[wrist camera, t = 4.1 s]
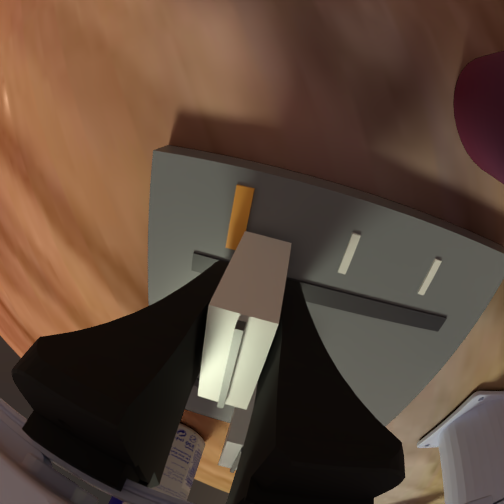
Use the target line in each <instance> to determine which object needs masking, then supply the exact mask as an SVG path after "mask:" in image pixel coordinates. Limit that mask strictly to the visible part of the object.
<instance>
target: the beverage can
mask: <svg viewBox="0 0 504 504" xmlns="http://www.w3.org/2000/svg"><path fill="white" fill-rule="evenodd" d="M204 447H205V442H204V440H203V439H202V437H201V436H200V435H199V434H198V433H196V432H195V431H194V430H192V429H191V428H189V427H187V426H185V425H183V424H181V423H179V426H178V429H177V432H176V435H175V438H174V441H173V444H172V447H171V450H170V453H169V456H168V459H167V462H166V465H165V468H164V472H163V475H162V478H161V481H160V485H158V486H156V487H153V488H150V489H153V490H156V491H158V492H161V493H164V494H167V495H169V496H172V497H175V498H178V499H181V500H185V501H186V500H187V497H188V494H189V491H190V489H191V486H192V483H193V480H194V477H195V474H196V471H197V468H198V465H199V462H200V459H201V456H202V453H203V450H204ZM109 504H128V503H126V502H124V501H121V500H119V499H117V498H115V497H113V496H112V497H111V499H110V501H109Z"/></svg>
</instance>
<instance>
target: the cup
mask: <svg viewBox="0 0 504 504" xmlns="http://www.w3.org/2000/svg"><path fill="white" fill-rule="evenodd" d="M454 116H455V121H456V126H457V130H458V133H459V136H460V139H461V142H462V144H463V146H464V148H465V150H466V152H467V153H468V154H469V156H470V157H471V159H472V160H473V161H474V162H475V163H476V164H477V165H478V166H479V167H480V168H481V169H482V170H484V171H485V172H487V173H488V174H490V175H491V176H493V177H494V178H496V179H497V180H498V181H500V182H501V183H503V184H504V51H501V52H497V53H493V54H490V55H486V56H483V57H480V58H476V59H474V60H473V61H471V62H470V63H468V64H467V66H466V67H465V68H464V69H463V70H462V72H461V74H460V76H459V78H458V80H457V84H456V88H455V93H454Z"/></svg>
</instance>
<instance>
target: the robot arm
mask: <svg viewBox="0 0 504 504" xmlns="http://www.w3.org/2000/svg"><path fill="white" fill-rule="evenodd" d="M228 264H229V263H227V262H224V261H220V260H219V261H217V262H215V263H214V264H213V265H212V266H210V267H209V268H208V269H206V270H205V271H204V272H202V273H201V274H200V275H198V276H197V277H196V278H194V279H193V280H191V281H190V282H188V283H187V284H185V285H184V286H182V287H181V288H179V289H178V290H176V291H174V292H173V293H171V294H169V295H168V296H166V297H164V298H163V299H161V300H159V301H157V302H155V303H154V304H152V305H150V306H148V307H146V308H143V309H141V310H139V311H137V312H135V313H132V314H130V315H127V316H124V317H122V318H119V319H116V320H114V321H111V322H108V323H105V324H101V325H98V326H94V327H91V328H87V329H83V330H78V331H74V332H69V333H63V334H57V335H50V336H43V337H40V338H39V339H38V340H37V341H36V342H35V343H34V344H33V345H32V346H31V347H30V348H29V350H28V351H27V352H26V353H25V354H24V356H23V357H22V358H21V359H20V360H19V362H18V363H17V364H16V365H15V366H14V368H13V369H12V377H13V380H14V382H15V384H16V386H17V387H18V389H19V390H20V392H21V393H22V394H23V396H24V397H25V399H26V400H27V401H28V403H29V404H30V405H31V407H32V408H33V410H34V411H33V413H32V414H31V415H30V417H29V418H28V420H27V419H26V418H24V417H23V416H22V415H20V414H19V413H18V412H17V411H15V410H14V409H13V408H12V407H10V406H9V405H8V404H7V403H6V402H4V401H3V400H2V399H1V398H0V504H97V503H98V498H97V497H95V496H93V495H92V494H90V493H89V492H87V491H85V490H84V489H82V488H81V487H79V486H78V485H77V484H76V483H75V482H73V481H71V480H70V479H68V478H67V477H65V476H64V475H62V474H61V473H59V472H58V471H56V470H55V469H53V468H52V464H51V461H52V462H53V463H55V464H56V465H58V466H59V467H61V468H62V469H64V470H66V471H67V472H69V473H70V474H72V475H74V476H76V477H77V478H79V479H81V480H82V481H84V482H86V483H88V484H90V485H91V486H93V487H95V488H97V489H99V490H101V491H103V492H105V493H107V494H109V495H111V496H113V497H115V498H117V499H119V500H121V501H124V502H126V503H128V504H195V503H191V502H188V501H185V500H181V499H178V498H175V497H172V496H169V495H167V494H164V493H161V492H158V491H156V490H153V489H150V488H153V487H156V486H158V485H160V481H161V478H162V475H163V472H164V468H165V465H166V462H167V459H168V456H169V453H170V450H171V447H172V444H173V441H174V438H175V435H176V432H177V429H178V426H179V423H180V421H181V418H182V415H183V412H184V409H185V407H186V404H187V401H188V398H189V396H190V393H191V390H192V388H193V386H194V383H195V381H196V379H197V377H198V375H199V373H200V370H201V362H202V353H203V345H204V337H205V329H206V321H207V314H208V306H209V303H210V301H211V299H212V297H213V295H214V293H215V291H216V289H217V287H218V285H219V283H220V281H221V279H222V277H223V275H224V273H225V271H226V268H227V266H228ZM417 447H418V448H427V447H439V452H440V459H441V467H442V475H443V485H444V496H445V504H504V391H477V392H475V393H473V394H472V395H471V396H470V397H469V398H468V399H467V400H466V401H465V402H464V403H463V404H462V405H461V406H460V407H459V408H458V409H456V410H455V411H454V412H453V413H452V414H451V415H450V416H449V417H448V418H447V419H445V420H444V421H443V422H442V423H441V424H440V425H439V426H437V427H436V428H435V429H434V430H433V431H431V432H430V433H429V434H428V435H426V436H425V437H424V438H423V439H421V440H420V441H419V442H418V443H417ZM404 478H405V466H404V454H403V448H402V442H401V441H400V440H399V439H398V438H396V437H395V436H394V435H393V434H392V433H391V432H390V431H389V430H388V429H387V428H386V427H385V426H384V425H383V424H382V423H381V422H380V421H378V419H377V418H376V417H375V416H374V415H373V414H372V413H371V412H370V411H369V410H368V408H367V407H366V406H365V405H364V404H363V403H362V402H361V400H360V399H359V398H358V397H357V395H356V394H355V393H354V391H353V390H352V389H351V387H350V386H349V385H348V383H347V382H346V381H345V379H344V378H343V377H342V375H341V373H340V372H339V370H338V369H337V367H336V366H335V364H334V362H333V361H332V359H331V357H330V355H329V353H328V352H327V350H326V348H325V346H324V344H323V342H322V340H321V338H320V336H319V333H318V331H317V329H316V327H315V324H314V322H313V319H312V317H311V314H310V312H309V309H308V306H307V303H306V300H305V297H304V294H303V291H302V287H301V284H300V282H299V281H295V280H291V279H287V278H286V283H285V289H284V295H283V301H282V307H281V313H280V319H279V324H278V327H277V330H276V333H275V336H274V338H273V341H272V344H271V347H270V349H269V352H268V355H267V357H266V360H265V363H264V366H263V368H262V371H261V373H260V376H259V379H258V382H257V389H256V396H255V402H254V407H253V411H252V415H251V419H250V423H249V427H248V431H247V434H246V438H245V442H244V445H243V449H242V453H241V456H240V460H239V463H238V466H237V470H236V473H235V477H234V480H233V483H232V486H231V490H230V493H229V496H228V499H227V502H226V504H374V497H377V496H379V495H381V494H383V493H385V492H387V491H389V490H391V489H393V488H394V487H396V486H398V485H399V484H400V483H401V482H402V481H403V479H404Z"/></svg>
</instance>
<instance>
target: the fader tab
mask: <svg viewBox="0 0 504 504" xmlns="http://www.w3.org/2000/svg"><path fill="white" fill-rule="evenodd" d="M291 244H292V243H289V242H286V241H282V240H278V239H274V238H270V237H267V236H263V235H259V234H255V233H251V232H247V231H245V232H244V234H243V236H242V238H241V240H240V242H239V244H238V246H237V248H236V250H235V252H234V254H233V256H232V258H231V260H230V262H229V264H228V266H227V268H226V271H225V273H224V275H223V277H222V279H221V281H220V283H219V285H218V287H217V289H216V291H215V293H214V295H213V297H212V299H211V301H210V303H209V306H208V314H207V321H206V329H205V337H204V345H203V353H202V362H201V370H200V379H199V388H198V396H200V397H203V398H206V399H210V400H213V401H216V402H218V405H217V407H220V408H224V405H225V404H227V405H231V406H234V407H238V408H242V409H247V407H248V404H249V402H250V399H251V397H252V394H253V392H254V389H255V387H256V384H257V381H258V379H259V376H260V373H261V371H262V368H263V366H264V363H265V360H266V357H267V355H268V352H269V349H270V347H271V344H272V341H273V338H274V336H275V333H276V330H277V327H278V324H279V319H280V313H281V307H282V301H283V295H284V289H285V283H286V277H287V270H288V264H289V257H290V251H291Z"/></svg>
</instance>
